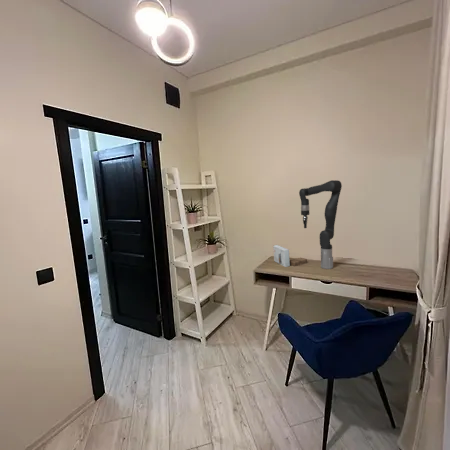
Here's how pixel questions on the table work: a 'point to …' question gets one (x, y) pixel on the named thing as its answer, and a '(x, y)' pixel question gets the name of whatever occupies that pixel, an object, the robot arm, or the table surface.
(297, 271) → the table surface
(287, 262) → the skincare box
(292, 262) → the walnut block
